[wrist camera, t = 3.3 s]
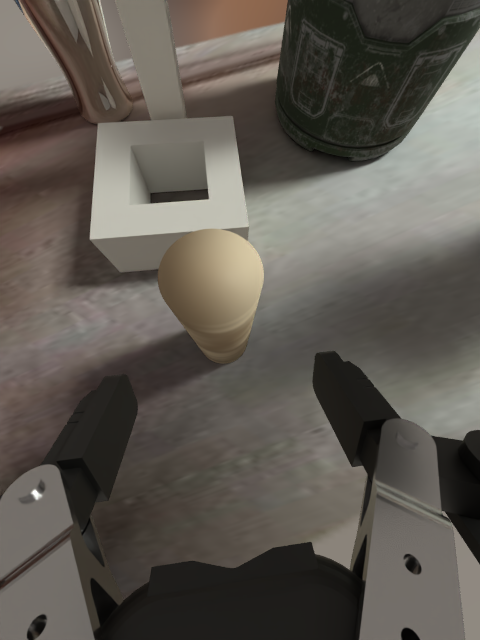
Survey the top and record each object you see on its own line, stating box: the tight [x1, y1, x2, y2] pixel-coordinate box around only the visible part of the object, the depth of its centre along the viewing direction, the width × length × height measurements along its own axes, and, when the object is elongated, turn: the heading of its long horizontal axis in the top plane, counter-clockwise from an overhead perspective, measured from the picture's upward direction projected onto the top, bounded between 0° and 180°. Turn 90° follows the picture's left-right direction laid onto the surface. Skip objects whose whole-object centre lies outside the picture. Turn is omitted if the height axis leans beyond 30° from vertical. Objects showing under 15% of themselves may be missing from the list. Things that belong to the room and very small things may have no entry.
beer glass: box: [14, 0, 133, 125], centre depth 21 cm, size 7×7×15 cm
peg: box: [158, 229, 264, 364], centre depth 15 cm, size 4×4×12 cm
